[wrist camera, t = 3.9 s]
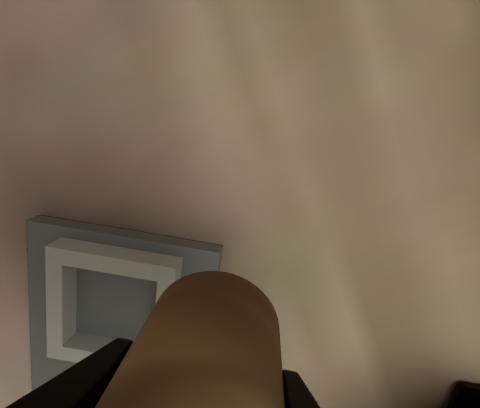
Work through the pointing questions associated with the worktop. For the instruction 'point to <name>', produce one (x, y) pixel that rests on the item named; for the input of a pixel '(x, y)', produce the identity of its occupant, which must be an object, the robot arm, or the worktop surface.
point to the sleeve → (203, 349)
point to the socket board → (97, 286)
